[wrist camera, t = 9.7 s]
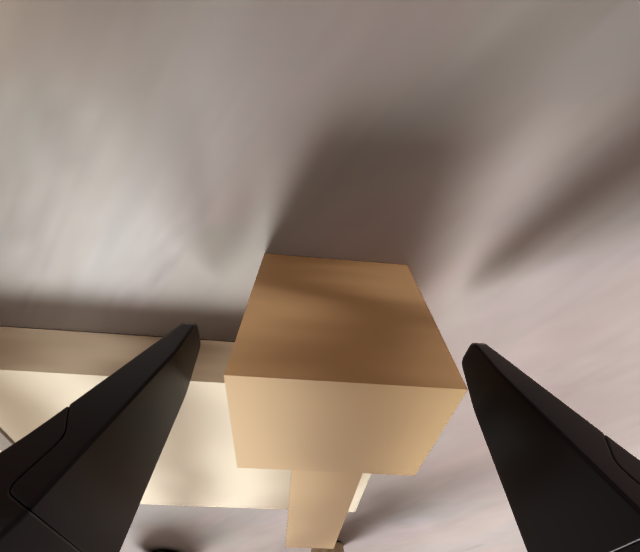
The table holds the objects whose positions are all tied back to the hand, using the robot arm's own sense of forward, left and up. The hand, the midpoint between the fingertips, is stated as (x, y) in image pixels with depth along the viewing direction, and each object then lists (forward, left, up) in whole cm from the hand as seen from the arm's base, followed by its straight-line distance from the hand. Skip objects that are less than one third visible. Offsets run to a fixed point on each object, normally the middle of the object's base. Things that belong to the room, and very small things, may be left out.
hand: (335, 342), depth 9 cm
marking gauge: (0, -4, -2) cm, 4 cm away
